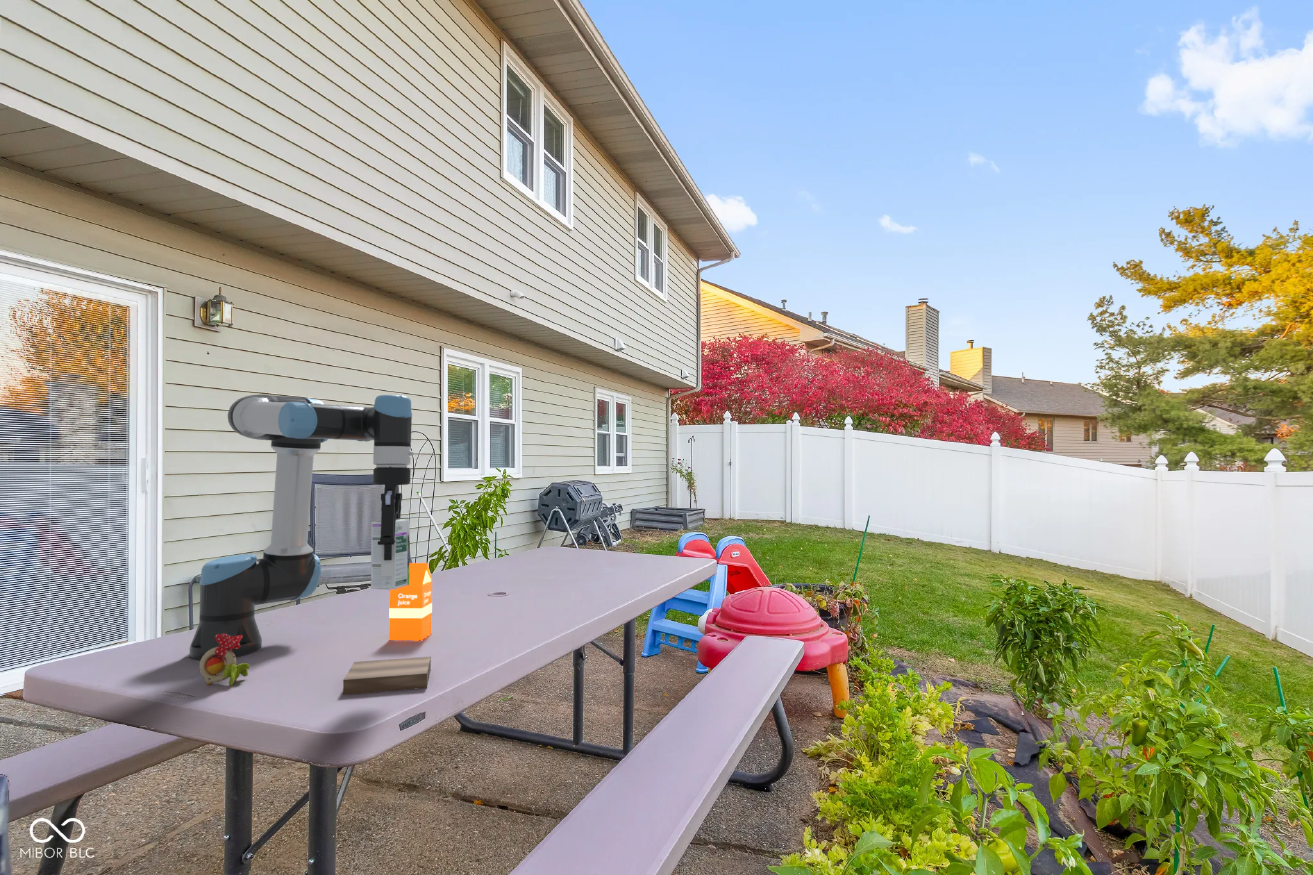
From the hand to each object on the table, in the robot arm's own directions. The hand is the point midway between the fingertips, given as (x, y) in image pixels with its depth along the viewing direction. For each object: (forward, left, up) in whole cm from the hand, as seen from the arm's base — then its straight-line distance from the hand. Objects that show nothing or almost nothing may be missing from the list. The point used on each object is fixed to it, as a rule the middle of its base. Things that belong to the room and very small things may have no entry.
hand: (390, 572), depth 144 cm
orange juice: (-39, +1, -23) cm, 46 cm away
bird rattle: (-8, -34, -23) cm, 42 cm away
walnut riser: (0, 0, -23) cm, 23 cm away
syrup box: (0, 0, -3) cm, 3 cm away
